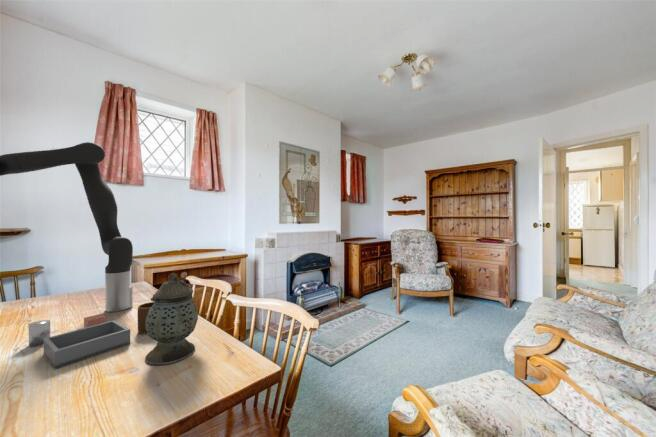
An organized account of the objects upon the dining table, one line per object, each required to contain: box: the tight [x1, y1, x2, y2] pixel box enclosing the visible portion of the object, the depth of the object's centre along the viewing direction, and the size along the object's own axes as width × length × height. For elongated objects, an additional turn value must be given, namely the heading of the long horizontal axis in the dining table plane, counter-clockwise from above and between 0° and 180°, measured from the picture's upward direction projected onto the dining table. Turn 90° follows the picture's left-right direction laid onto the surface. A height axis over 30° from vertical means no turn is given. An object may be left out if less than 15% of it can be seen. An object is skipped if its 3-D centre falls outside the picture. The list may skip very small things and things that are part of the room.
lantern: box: [144, 272, 199, 367], centre depth 84 cm, size 14×14×25 cm
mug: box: [137, 301, 155, 335], centre depth 100 cm, size 12×8×9 cm, turn 59°
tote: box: [42, 319, 131, 370], centre depth 87 cm, size 18×14×5 cm
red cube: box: [83, 313, 107, 328], centre depth 101 cm, size 5×5×5 cm
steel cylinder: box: [27, 319, 51, 348], centre depth 91 cm, size 5×5×7 cm
